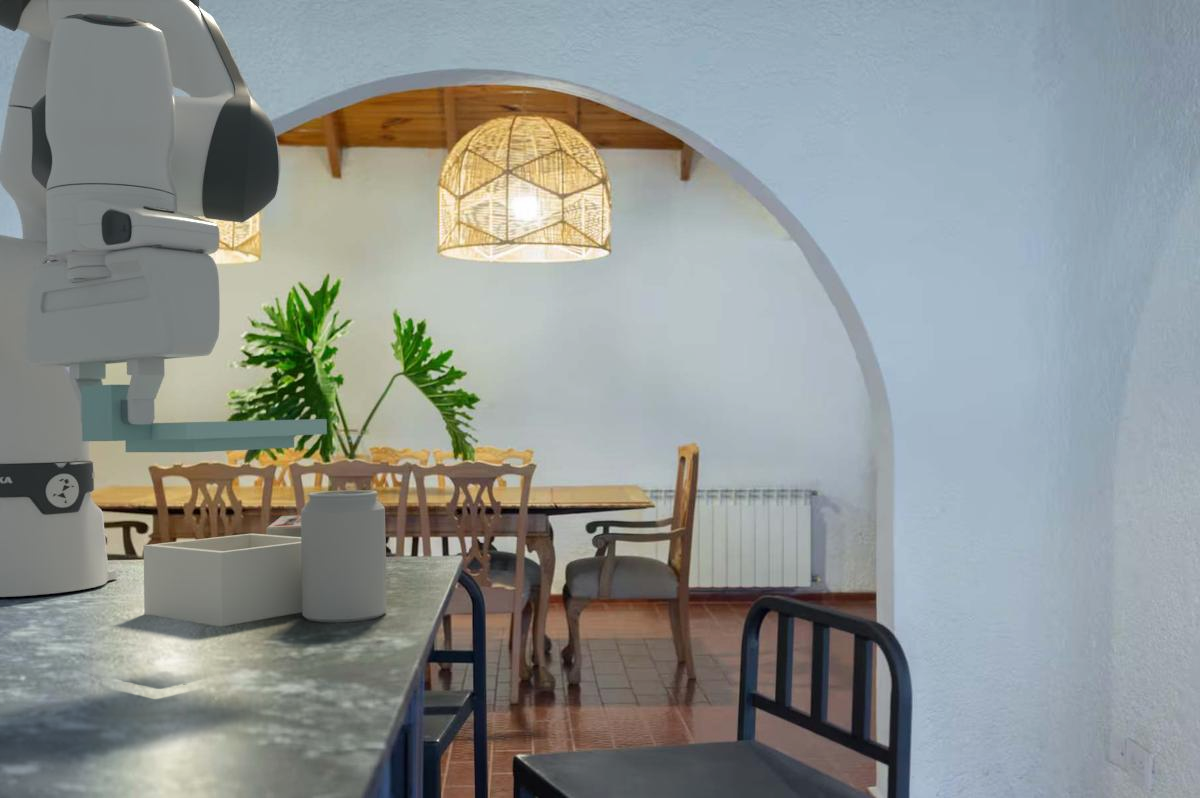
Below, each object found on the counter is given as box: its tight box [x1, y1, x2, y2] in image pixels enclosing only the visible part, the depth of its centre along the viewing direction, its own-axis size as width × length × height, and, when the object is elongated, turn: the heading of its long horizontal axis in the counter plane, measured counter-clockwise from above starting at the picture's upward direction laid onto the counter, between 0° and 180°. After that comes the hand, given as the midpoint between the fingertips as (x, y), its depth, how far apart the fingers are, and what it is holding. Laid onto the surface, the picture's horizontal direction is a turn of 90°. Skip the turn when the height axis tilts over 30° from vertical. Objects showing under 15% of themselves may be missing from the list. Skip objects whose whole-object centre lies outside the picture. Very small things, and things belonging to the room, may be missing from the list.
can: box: [300, 489, 388, 624], centre depth 106 cm, size 8×8×12 cm
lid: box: [81, 384, 328, 453], centre depth 90 cm, size 13×16×5 cm
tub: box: [143, 533, 302, 628], centre depth 110 cm, size 12×12×7 cm
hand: (116, 425), depth 85 cm, fingers closed on lid, 4 cm apart
